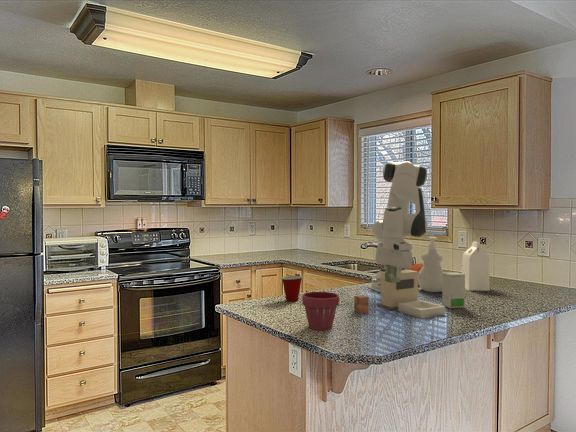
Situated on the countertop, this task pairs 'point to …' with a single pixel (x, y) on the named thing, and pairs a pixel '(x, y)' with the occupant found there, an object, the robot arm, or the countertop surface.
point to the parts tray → (421, 309)
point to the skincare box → (453, 290)
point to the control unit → (399, 290)
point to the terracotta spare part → (361, 304)
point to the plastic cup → (292, 287)
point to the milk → (476, 268)
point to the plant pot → (320, 309)
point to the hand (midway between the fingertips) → (392, 276)
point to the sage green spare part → (391, 274)
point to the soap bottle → (431, 270)
